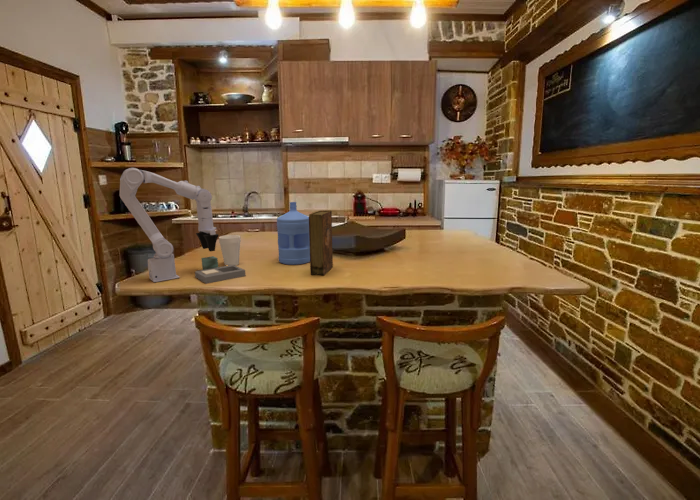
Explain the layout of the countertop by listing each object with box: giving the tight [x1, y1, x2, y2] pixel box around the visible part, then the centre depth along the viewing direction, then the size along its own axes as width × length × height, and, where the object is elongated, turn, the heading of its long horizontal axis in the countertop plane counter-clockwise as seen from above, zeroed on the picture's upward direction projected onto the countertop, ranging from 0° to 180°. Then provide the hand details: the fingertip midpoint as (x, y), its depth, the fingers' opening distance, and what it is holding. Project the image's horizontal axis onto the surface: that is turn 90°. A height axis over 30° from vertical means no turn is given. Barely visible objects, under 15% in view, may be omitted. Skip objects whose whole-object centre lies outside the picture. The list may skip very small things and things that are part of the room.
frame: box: [194, 265, 246, 284], centre depth 146 cm, size 16×12×3 cm
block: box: [200, 256, 219, 270], centre depth 153 cm, size 5×5×6 cm
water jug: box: [276, 201, 310, 266], centre depth 168 cm, size 16×16×28 cm
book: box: [308, 210, 334, 276], centre depth 151 cm, size 16×6×25 cm, turn 168°
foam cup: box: [218, 234, 242, 266], centre depth 165 cm, size 10×9×13 cm
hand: (208, 249), depth 152 cm, fingers open, 7 cm apart
